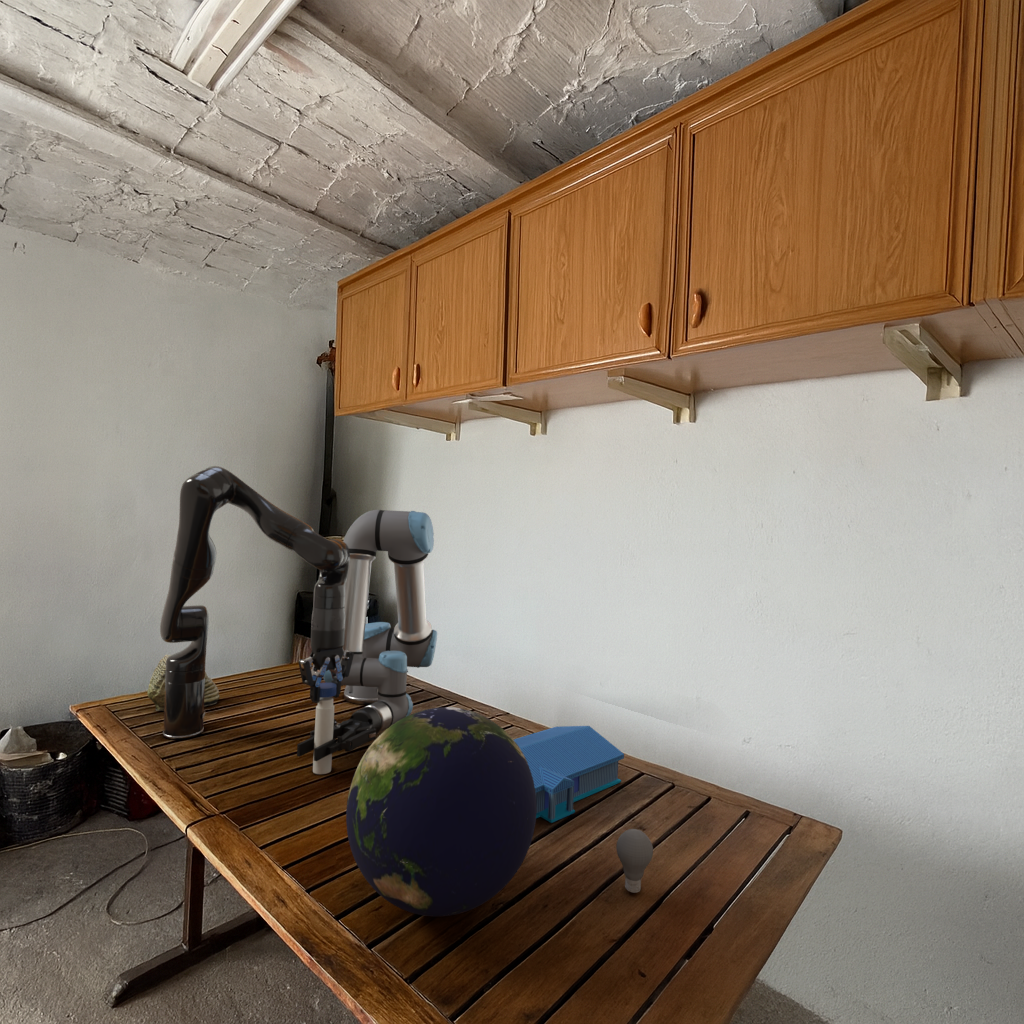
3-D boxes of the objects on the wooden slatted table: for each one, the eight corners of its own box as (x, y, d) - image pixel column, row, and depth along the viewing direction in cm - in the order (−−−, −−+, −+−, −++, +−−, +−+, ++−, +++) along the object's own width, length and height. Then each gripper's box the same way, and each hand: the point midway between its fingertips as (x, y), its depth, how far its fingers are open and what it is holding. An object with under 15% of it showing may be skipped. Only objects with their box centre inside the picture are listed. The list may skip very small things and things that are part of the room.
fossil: (144, 707, 182) (145, 655, 182) (212, 696, 194) (213, 647, 194) (151, 716, 175) (153, 662, 175) (221, 703, 188) (223, 653, 188)
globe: (300, 927, 93) (307, 725, 93) (407, 832, 121) (414, 676, 120) (484, 995, 82) (495, 765, 81) (556, 873, 110) (564, 701, 109)
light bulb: (610, 879, 108) (613, 822, 108) (644, 879, 109) (647, 822, 109) (619, 902, 102) (622, 840, 102) (655, 901, 103) (658, 840, 103)
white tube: (309, 773, 145) (313, 700, 145) (317, 766, 149) (321, 695, 149) (326, 775, 144) (330, 701, 144) (334, 768, 148) (337, 696, 148)
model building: (505, 843, 118) (507, 790, 118) (429, 794, 136) (431, 748, 136) (632, 786, 145) (634, 743, 144) (555, 752, 163) (557, 713, 163)
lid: (339, 695, 146) (340, 686, 146) (318, 699, 143) (318, 689, 143) (331, 689, 150) (332, 681, 150) (311, 693, 147) (311, 684, 147)
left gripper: (311, 633, 138) (308, 710, 138) (363, 624, 149) (360, 696, 150) (291, 627, 142) (288, 702, 143) (343, 619, 154) (340, 689, 154)
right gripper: (397, 741, 159) (337, 777, 138) (342, 729, 166) (276, 761, 145) (398, 712, 159) (338, 743, 138) (343, 700, 166) (277, 728, 145)
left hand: (325, 699), depth 146 cm, fingers closed on lid, 4 cm apart
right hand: (307, 752), depth 141 cm, fingers closed on white tube, 4 cm apart
